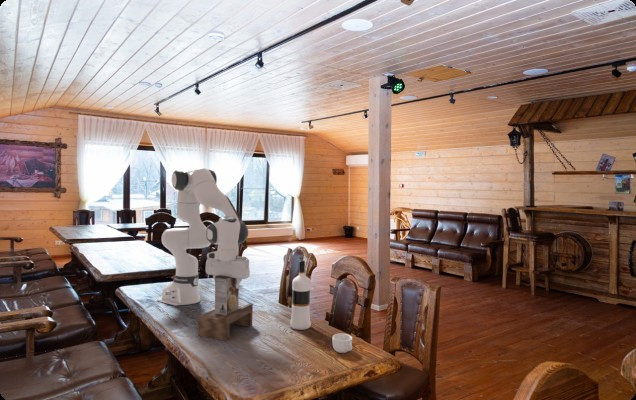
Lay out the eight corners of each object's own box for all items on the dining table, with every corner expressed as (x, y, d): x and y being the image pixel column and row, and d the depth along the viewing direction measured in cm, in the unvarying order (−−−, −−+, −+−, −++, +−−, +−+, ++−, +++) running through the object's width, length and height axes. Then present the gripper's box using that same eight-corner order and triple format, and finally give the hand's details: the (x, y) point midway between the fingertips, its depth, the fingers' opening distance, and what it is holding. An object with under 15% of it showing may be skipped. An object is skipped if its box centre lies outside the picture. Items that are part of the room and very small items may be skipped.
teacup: (328, 349, 165) (328, 335, 164) (343, 345, 169) (344, 332, 169) (343, 358, 156) (343, 344, 156) (359, 354, 160) (360, 340, 160)
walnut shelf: (198, 335, 175) (198, 311, 174) (225, 321, 193) (225, 299, 193) (227, 341, 170) (227, 316, 169) (252, 325, 188) (252, 303, 188)
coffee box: (226, 308, 187) (226, 272, 186) (238, 310, 184) (239, 273, 184) (214, 313, 178) (214, 276, 177) (227, 316, 176) (227, 277, 175)
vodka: (286, 324, 191) (288, 259, 189) (305, 322, 195) (307, 258, 194) (294, 331, 182) (296, 263, 181) (314, 329, 186) (316, 261, 185)
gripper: (252, 256, 179) (252, 288, 180) (212, 251, 187) (211, 282, 187) (245, 258, 173) (244, 291, 174) (203, 253, 181) (203, 285, 181)
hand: (227, 286), depth 181 cm, fingers open, 8 cm apart
